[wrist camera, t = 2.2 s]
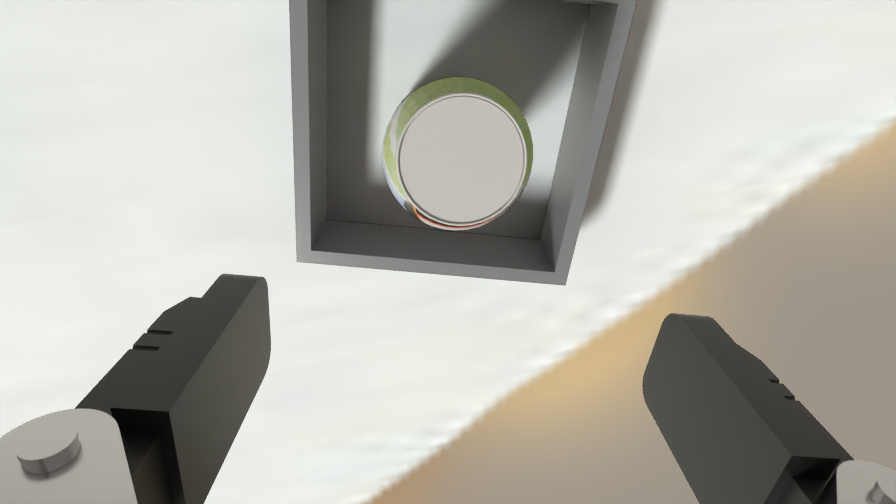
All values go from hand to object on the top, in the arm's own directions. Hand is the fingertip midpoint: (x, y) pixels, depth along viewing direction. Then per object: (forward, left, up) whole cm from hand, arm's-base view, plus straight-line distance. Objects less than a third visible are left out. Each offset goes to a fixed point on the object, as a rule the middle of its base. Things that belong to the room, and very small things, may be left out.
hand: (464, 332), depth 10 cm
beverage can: (0, 0, -21) cm, 21 cm away
